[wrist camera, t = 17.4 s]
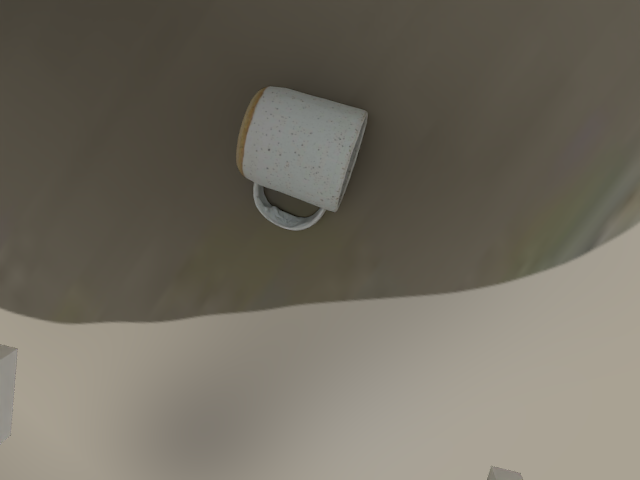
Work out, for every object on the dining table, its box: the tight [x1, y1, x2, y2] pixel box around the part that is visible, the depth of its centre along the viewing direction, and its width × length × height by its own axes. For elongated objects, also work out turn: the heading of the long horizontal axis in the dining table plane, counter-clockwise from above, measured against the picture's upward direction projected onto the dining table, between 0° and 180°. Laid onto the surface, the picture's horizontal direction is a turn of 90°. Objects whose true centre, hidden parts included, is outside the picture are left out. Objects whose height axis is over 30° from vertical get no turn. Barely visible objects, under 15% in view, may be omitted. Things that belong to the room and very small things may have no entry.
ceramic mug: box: [236, 86, 368, 230], centre depth 40 cm, size 11×8×8 cm
